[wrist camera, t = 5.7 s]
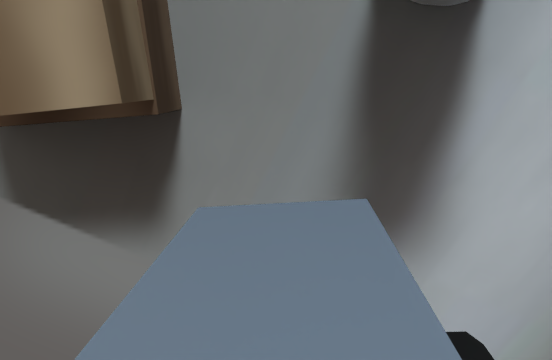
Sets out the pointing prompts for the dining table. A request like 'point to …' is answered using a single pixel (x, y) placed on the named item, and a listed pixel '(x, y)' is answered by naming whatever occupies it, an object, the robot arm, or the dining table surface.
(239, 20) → the dining table surface
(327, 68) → the dining table surface
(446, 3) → the candle
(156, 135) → the dining table surface
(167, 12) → the block
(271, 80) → the dining table surface
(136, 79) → the tower top
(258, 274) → the blue block
